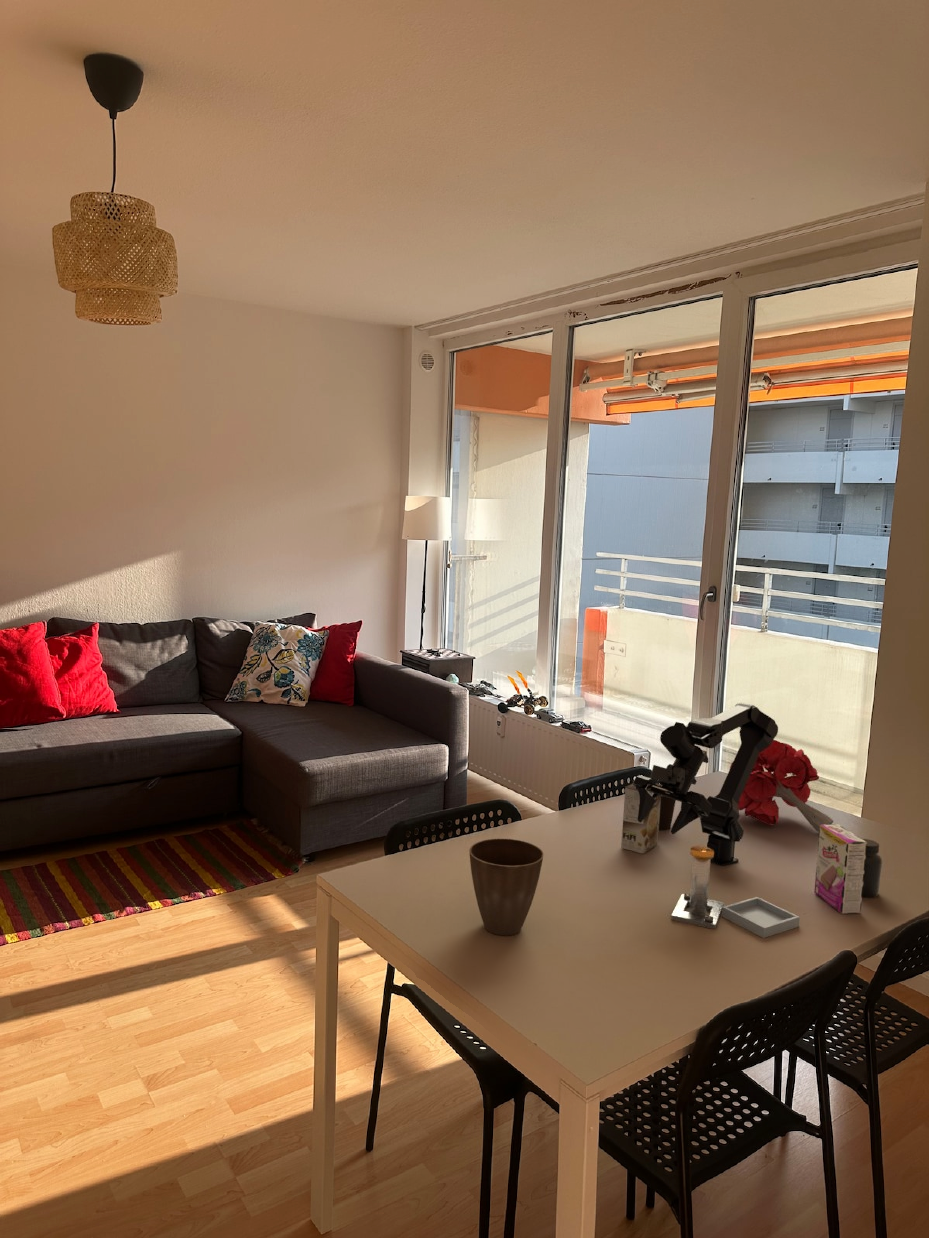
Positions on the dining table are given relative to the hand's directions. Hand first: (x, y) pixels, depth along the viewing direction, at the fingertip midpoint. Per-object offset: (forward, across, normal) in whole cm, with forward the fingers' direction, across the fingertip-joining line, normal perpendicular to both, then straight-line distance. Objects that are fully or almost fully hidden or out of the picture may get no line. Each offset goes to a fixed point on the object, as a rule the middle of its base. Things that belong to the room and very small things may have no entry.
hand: (655, 827), depth 202 cm
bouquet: (-30, -6, +59) cm, 67 cm away
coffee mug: (-11, -25, +36) cm, 46 cm away
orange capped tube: (+13, +15, +7) cm, 20 cm away
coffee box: (0, -18, +23) cm, 29 cm away
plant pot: (+37, -5, -23) cm, 44 cm away
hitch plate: (+13, +15, +7) cm, 20 cm away
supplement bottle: (-13, +31, +38) cm, 51 cm away
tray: (+8, +25, +12) cm, 29 cm away
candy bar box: (-6, +30, +30) cm, 43 cm away
